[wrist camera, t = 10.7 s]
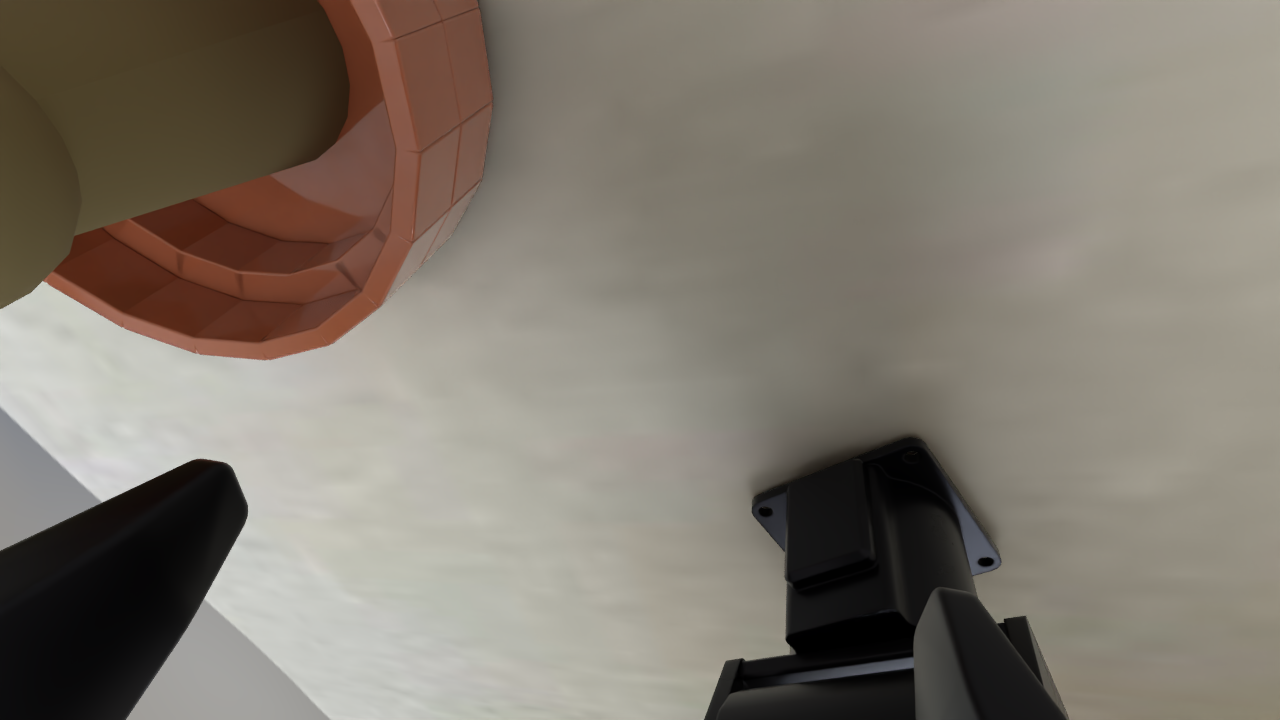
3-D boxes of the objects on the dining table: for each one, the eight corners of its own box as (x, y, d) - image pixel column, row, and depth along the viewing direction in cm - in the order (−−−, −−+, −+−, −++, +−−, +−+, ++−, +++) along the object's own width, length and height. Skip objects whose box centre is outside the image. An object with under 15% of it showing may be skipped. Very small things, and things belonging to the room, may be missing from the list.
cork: (207, 173, 21) (-217, 380, 13) (98, -52, 18) (-581, 11, 9) (380, 159, 20) (41, 381, 11) (296, -88, 17) (-280, -54, 8)
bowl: (604, 113, 19) (548, 177, 15) (313, 343, 25) (220, 430, 21) (156, -490, 14) (-116, -646, 10) (-58, -6, 20) (-270, 21, 16)
